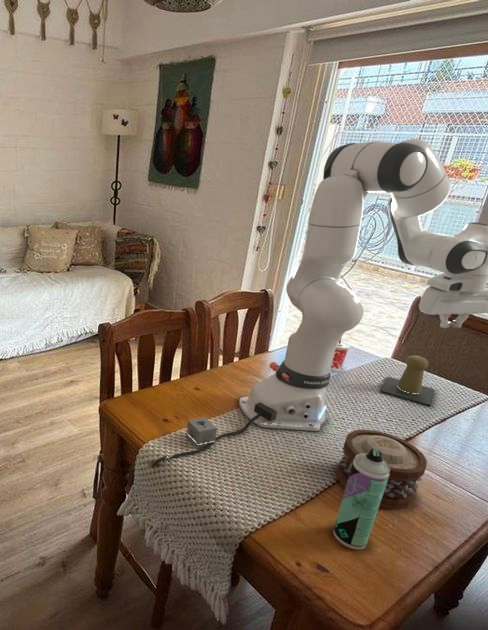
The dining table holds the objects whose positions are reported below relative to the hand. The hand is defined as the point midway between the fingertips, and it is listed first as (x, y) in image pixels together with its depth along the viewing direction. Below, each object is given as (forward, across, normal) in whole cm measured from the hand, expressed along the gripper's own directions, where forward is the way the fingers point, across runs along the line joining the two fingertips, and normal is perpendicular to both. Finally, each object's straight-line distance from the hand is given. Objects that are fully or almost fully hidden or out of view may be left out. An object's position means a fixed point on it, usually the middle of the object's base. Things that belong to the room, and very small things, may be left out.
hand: (449, 327), depth 127 cm
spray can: (+21, +61, +50) cm, 82 cm away
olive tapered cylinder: (+21, +7, 0) cm, 22 cm away
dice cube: (+21, +79, +19) cm, 84 cm away
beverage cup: (+21, +20, -16) cm, 33 cm away
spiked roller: (+21, +46, +37) cm, 63 cm away
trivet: (+21, +7, 0) cm, 22 cm away
